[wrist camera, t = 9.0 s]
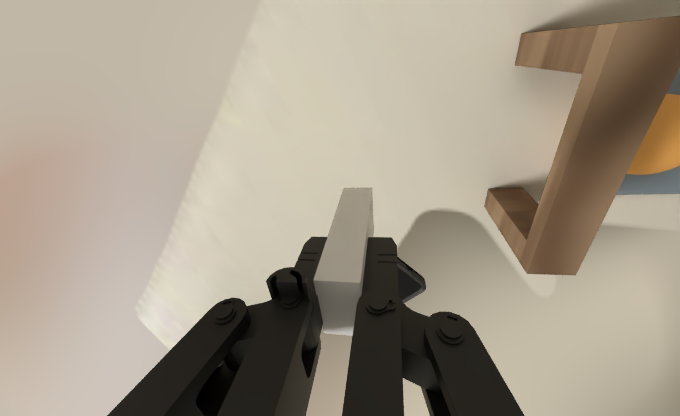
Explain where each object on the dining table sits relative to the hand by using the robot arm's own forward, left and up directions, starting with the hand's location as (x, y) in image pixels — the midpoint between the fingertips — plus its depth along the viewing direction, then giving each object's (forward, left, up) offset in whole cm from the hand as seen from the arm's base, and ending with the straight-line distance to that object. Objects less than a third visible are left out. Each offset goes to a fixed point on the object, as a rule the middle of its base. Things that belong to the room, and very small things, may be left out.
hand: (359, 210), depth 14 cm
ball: (-20, 0, -9) cm, 22 cm away
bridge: (-13, 0, -12) cm, 18 cm away
